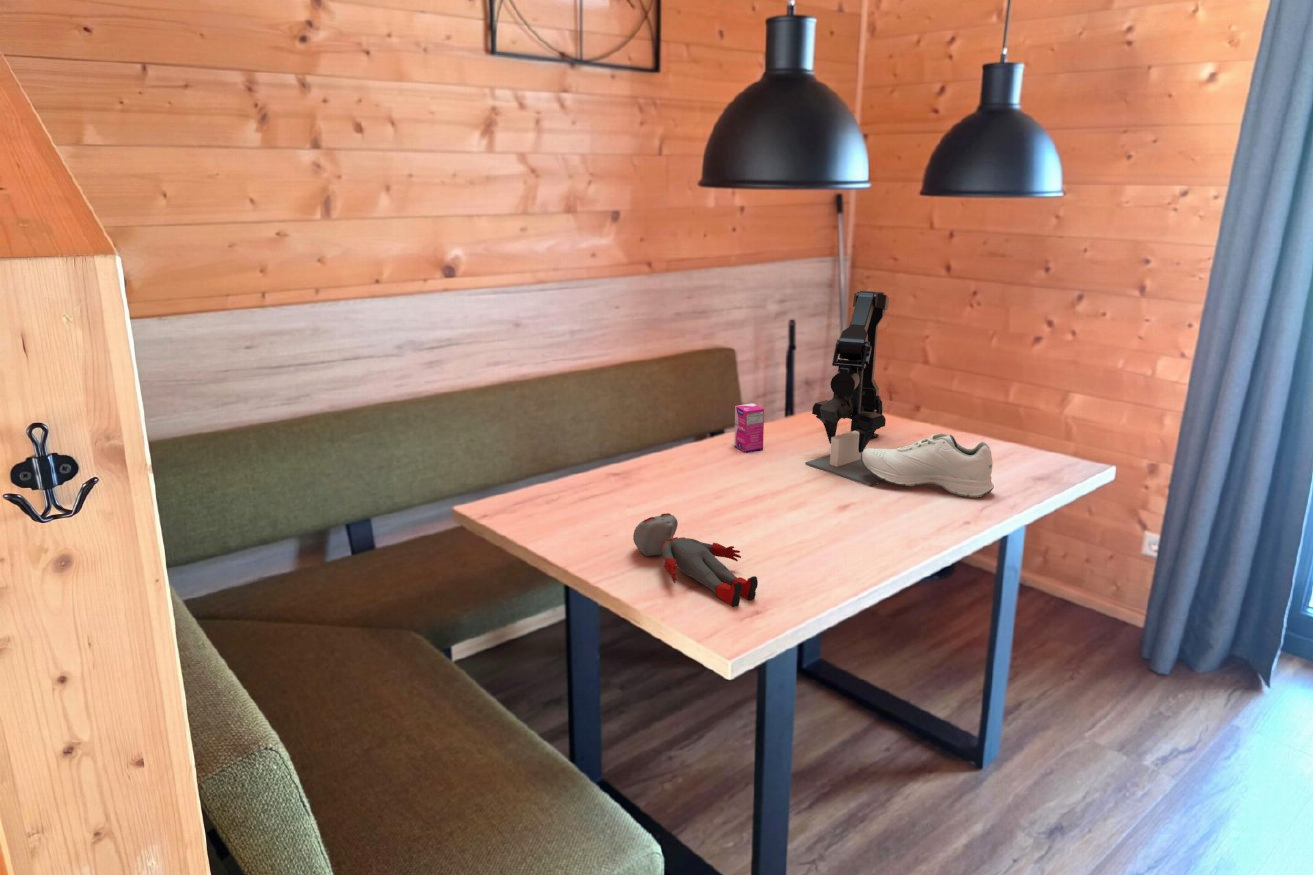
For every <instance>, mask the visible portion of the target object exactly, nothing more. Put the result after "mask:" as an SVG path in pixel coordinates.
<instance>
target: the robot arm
mask: <svg viewBox="0 0 1313 875" xmlns="http://www.w3.org/2000/svg"><path fill="white" fill-rule="evenodd" d="M889 298H890V297H889V296H888V295H887V294H885V292H883V291H873V290H872V291H869V290H860V291H857V292H854V294H853V299H852V300H853V302H852V308H853V312H852V315H851V320H850V322H849V325H848V327H847V328H845V329H843V330H842V332H841V334H840V336H839V339H837V340H836V342H835V348H834V352H833V358H832V363H831V365H832V366H833V367H838V368H837V369H838V370H837V372H836V373H835V374H834V376H832V379H831V380H830V389H831V391H832V394H833V397H832V399H829V400H828V399H827V400H826V399H825V400H822V401H818V402H815V403H814V404H813V406H812V410H811V411H812V412H811V414H812V415H814V416H815V418H816V419H818V420H819V421H820V422H822V424H823V426H824V429H825V432H826V435H827V439H828V442H829V444H830V445H831V437H834V436H837V429H838V423H839V421H840V420H841V419H844V420H845V419H849V420H851V421H850V432H851V431H858V432H859V453H861V452H862V453H863V451H864V449H866V447H867V445H868V443H869V441H870V439H873V438H878V437H879V436H880V434H879V433H877V432H876V431H877V430H879V429H881V428H884V427H886V419H887V418H886V416H885V415H884V414H883V409H884V408H883V407H884V406H883V400H882V399H881V395H880V387H879V386H878V384H877V382H876V380H875V366H876V355H877V344H878V331H879V330H878V329H879V324H880V323H881V322H882V320H883V318H884V317H885V316H886V311H887V310H888V309H889V302H890V301H889V300H890V299H889Z"/></svg>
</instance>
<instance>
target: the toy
mask: <svg viewBox="0 0 1313 875" xmlns="http://www.w3.org/2000/svg"><path fill="white" fill-rule="evenodd" d="M677 529H678V519H677V517H676V516H675V515H674V514H671V513H669V512H668V513H661V514H660V515H657V516H651V517H648V518H645V519H644V520H642V521H641V522H639V523H638V524H637V525H636V527H635V528H634V531H633V536H632V538H633V543H634V545H635V547H636V548H637V549H638V551H640V552H641V553H642V554H643V555H644V556H646V557H652V556H661V555H662V556H663V559H664V565H663V566H664V568H665V570H666V572H667V573H668V574H669V575H670V577H671V580H672V582H673V583H674V584H676V583H677V578H676V576H677V572H676V569H677V568H678V569H679V570H680V571H681V573H683V574H684V575H686V576H689V577H691V578H693V579H694V580H695V581H696V582H699V583H700V584H702V585H703V586H705V587H707V588H708V589H709V590H711V591H712V592H714V594H715V596H717V597H718V598H720V599H721V600H722V601H723V602H725V603H727V604H729V605H731V607H733V608H735V607H737V606H740V602H741V597H744V598H745V599H746V600H748V601H749V602H751V601H753V600H755V599H756V594H757V592H756V590H757V588H758V585H759V584H758V583H759V581H758V577H757V576H756V575H755V576H754V575H753V576H750V577H749V578H747V579H746V578H743V577H740V576H739V577H737V576H736V575H735V574H734V573H732V572H731V571H730V570H729V568H727V566H726V565H725V564H724V563H722V561H720V560H719V559H718V558H717V557H719V558H725V559H730V560H732V561H735V562H738V561H739V560H738V558H739V559H742V556H741V555H740V554H739V553H741V550H738V549H735V546H734V545H730V546H728V547H726V546H724V545H723V544H720V543H717V542H712V543H706V542H702V541H700V540H697V539H695V538H688V537H682V536H681V537H678V536H676V537H675V535H676V531H677Z"/></svg>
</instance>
